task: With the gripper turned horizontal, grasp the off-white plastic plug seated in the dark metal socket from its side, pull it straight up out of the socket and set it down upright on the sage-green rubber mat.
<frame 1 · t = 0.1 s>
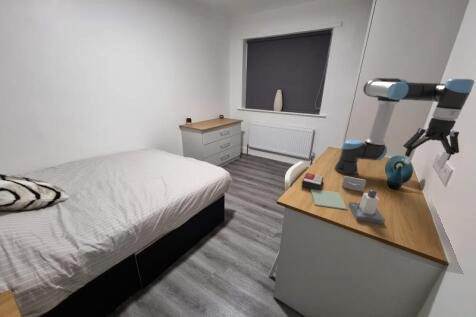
hand: (423, 164, 90), 28 cm above the table, tool pointing down, fingers open, 13 cm apart
mat: (327, 199, 111), on the table
plug: (368, 202, 97), in the socket
calculator: (312, 183, 127), on the table, touching mat
socket: (364, 214, 100), on the table
cassette: (352, 189, 123), on the table
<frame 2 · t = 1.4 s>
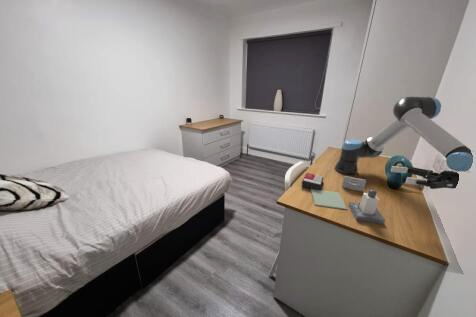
hand: (398, 174, 90), 24 cm above the table, tool horizontal, fingers open, 13 cm apart
nothing on the table moved.
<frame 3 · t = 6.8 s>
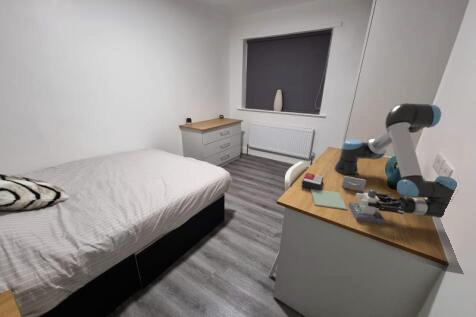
hand: (358, 198, 97), 9 cm above the table, tool horizontal, fingers closed on plug, 5 cm apart
plug: (368, 202, 97), in the socket, touching gripper
everything else where it was.
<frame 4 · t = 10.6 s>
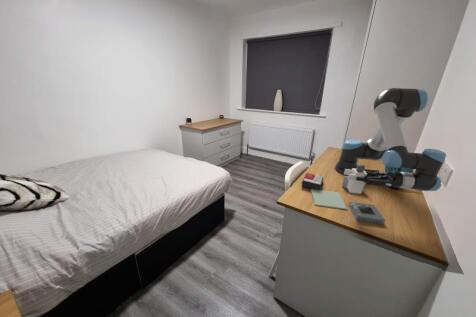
hand: (346, 174, 97), 20 cm above the table, tool horizontal, fingers closed on plug, 5 cm apart
plug: (357, 178, 96), point 18 cm above the table, touching gripper
everything else where it was.
when the fingers open (10 cm above the table, at t = 14.3 s): plug stays where it is, resting on mat.
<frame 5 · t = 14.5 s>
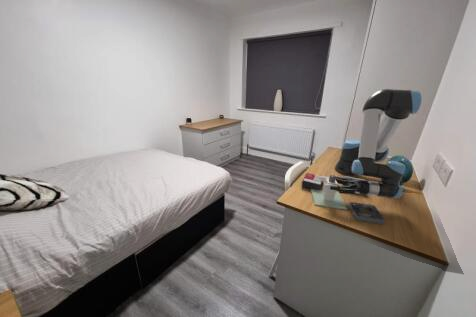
hand: (322, 182, 108), 10 cm above the table, tool horizontal, fingers open, 8 cm apart
plug: (330, 187, 109), on the mat, point 8 cm above the table
everything else where it was.
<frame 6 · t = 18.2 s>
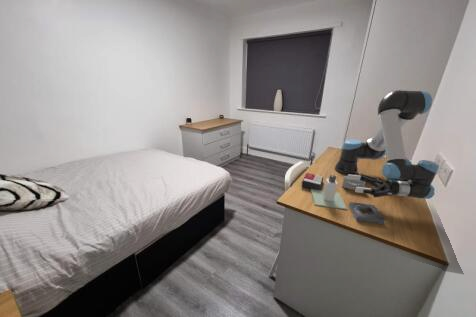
hand: (351, 182, 105), 12 cm above the table, tool horizontal, fingers open, 13 cm apart
nothing on the table moved.
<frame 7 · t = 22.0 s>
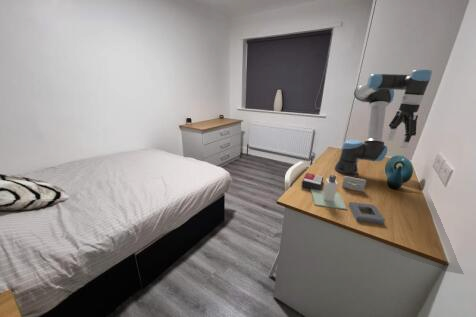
hand: (396, 143, 107), 32 cm above the table, tool pointing down, fingers open, 13 cm apart
nothing on the table moved.
at the end: plug inside the target area on the mat (0.0 cm from its centre), point 7.6 cm above the mat's base; plug tilted 0°; the gripper is holding nothing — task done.
